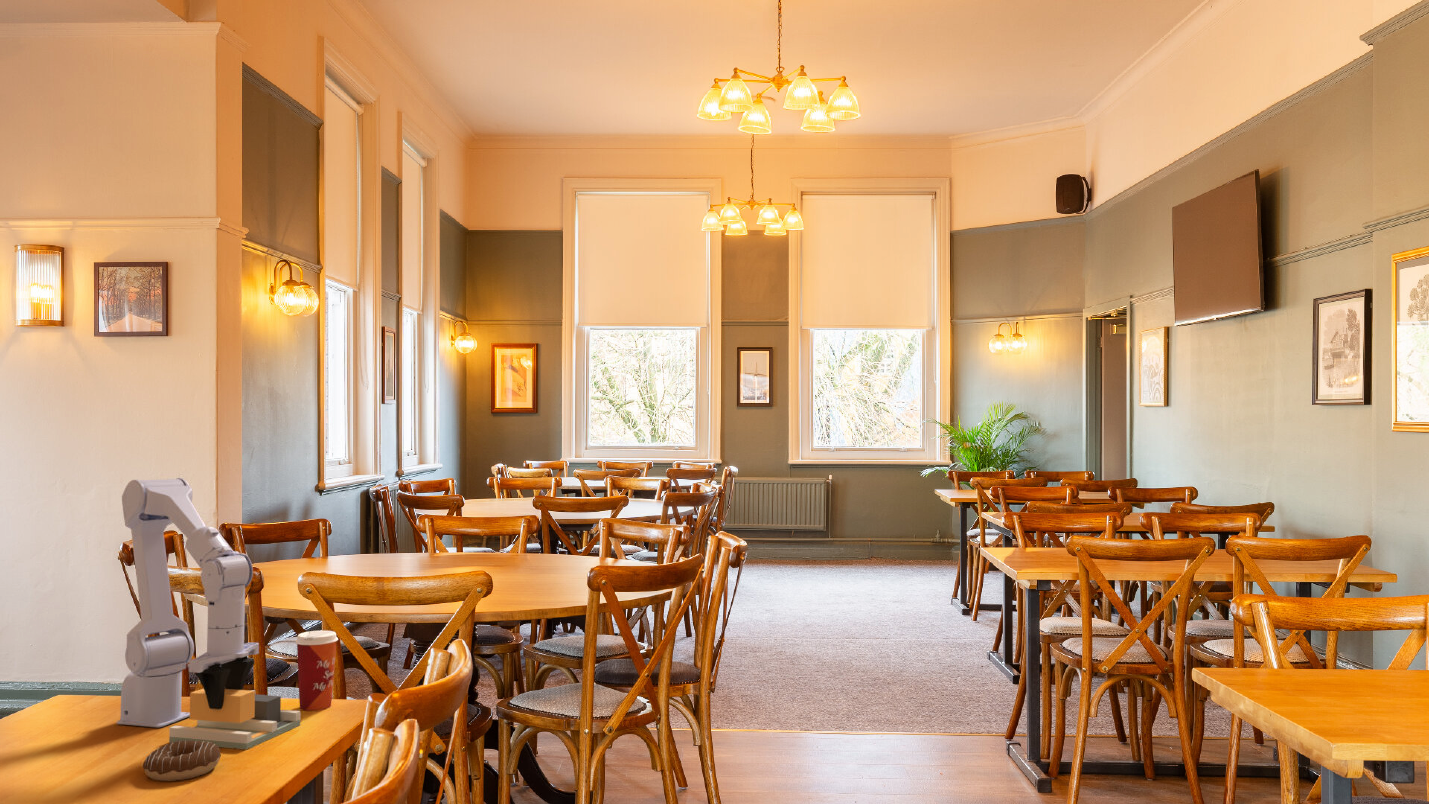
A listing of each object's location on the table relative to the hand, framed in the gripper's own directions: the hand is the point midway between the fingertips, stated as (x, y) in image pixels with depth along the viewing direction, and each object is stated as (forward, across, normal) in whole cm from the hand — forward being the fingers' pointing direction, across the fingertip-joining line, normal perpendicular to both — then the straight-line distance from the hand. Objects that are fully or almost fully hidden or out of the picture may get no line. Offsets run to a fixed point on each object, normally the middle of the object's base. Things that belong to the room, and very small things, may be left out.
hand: (224, 705), depth 168 cm
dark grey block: (+5, +6, 0) cm, 8 cm away
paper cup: (+6, +21, -3) cm, 22 cm away
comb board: (+6, +3, 0) cm, 7 cm away
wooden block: (+2, 0, 0) cm, 2 cm away
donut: (+6, -15, -5) cm, 17 cm away
